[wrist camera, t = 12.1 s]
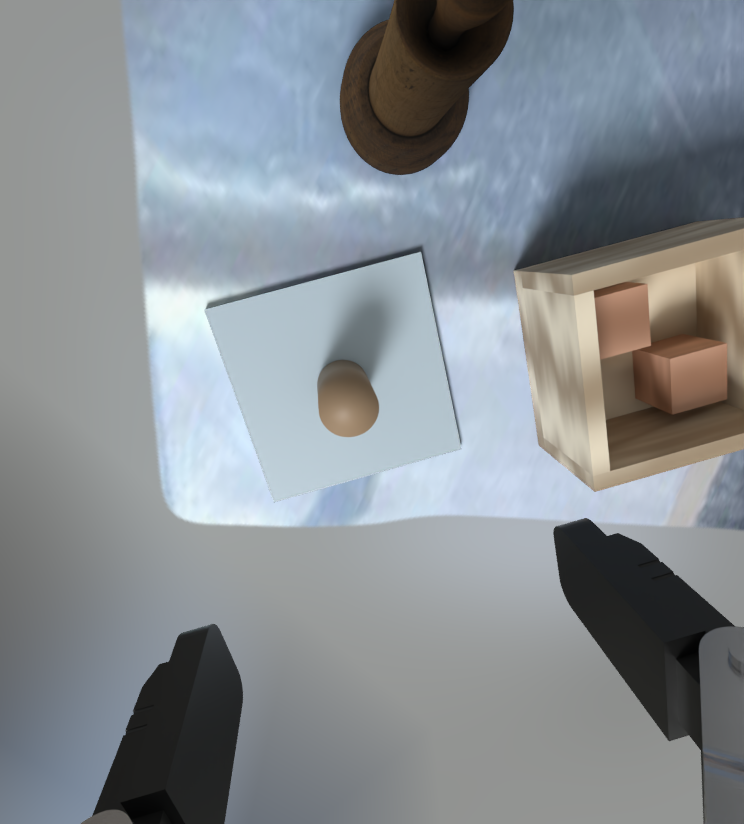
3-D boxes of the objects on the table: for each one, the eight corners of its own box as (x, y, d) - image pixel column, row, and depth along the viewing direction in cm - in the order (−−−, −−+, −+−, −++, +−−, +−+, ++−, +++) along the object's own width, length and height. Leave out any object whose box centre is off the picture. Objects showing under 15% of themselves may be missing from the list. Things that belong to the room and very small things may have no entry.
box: (513, 270, 30) (571, 274, 23) (697, 221, 30) (806, 211, 24) (538, 445, 34) (594, 491, 27) (701, 399, 34) (795, 434, 27)
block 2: (631, 348, 31) (670, 359, 28) (683, 333, 31) (727, 342, 28) (635, 398, 32) (672, 414, 29) (684, 384, 32) (727, 399, 29)
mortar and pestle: (313, 87, 26) (318, -249, 9) (413, 6, 25) (633, -525, 8) (385, 200, 28) (504, 110, 11) (479, 127, 27) (764, -90, 10)
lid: (207, 307, 29) (182, 320, 23) (417, 251, 29) (443, 250, 24) (275, 495, 33) (267, 545, 27) (457, 443, 34) (487, 482, 28)
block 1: (555, 295, 29) (586, 300, 26) (609, 280, 30) (647, 283, 26) (561, 350, 31) (592, 361, 27) (614, 335, 31) (650, 345, 27)
